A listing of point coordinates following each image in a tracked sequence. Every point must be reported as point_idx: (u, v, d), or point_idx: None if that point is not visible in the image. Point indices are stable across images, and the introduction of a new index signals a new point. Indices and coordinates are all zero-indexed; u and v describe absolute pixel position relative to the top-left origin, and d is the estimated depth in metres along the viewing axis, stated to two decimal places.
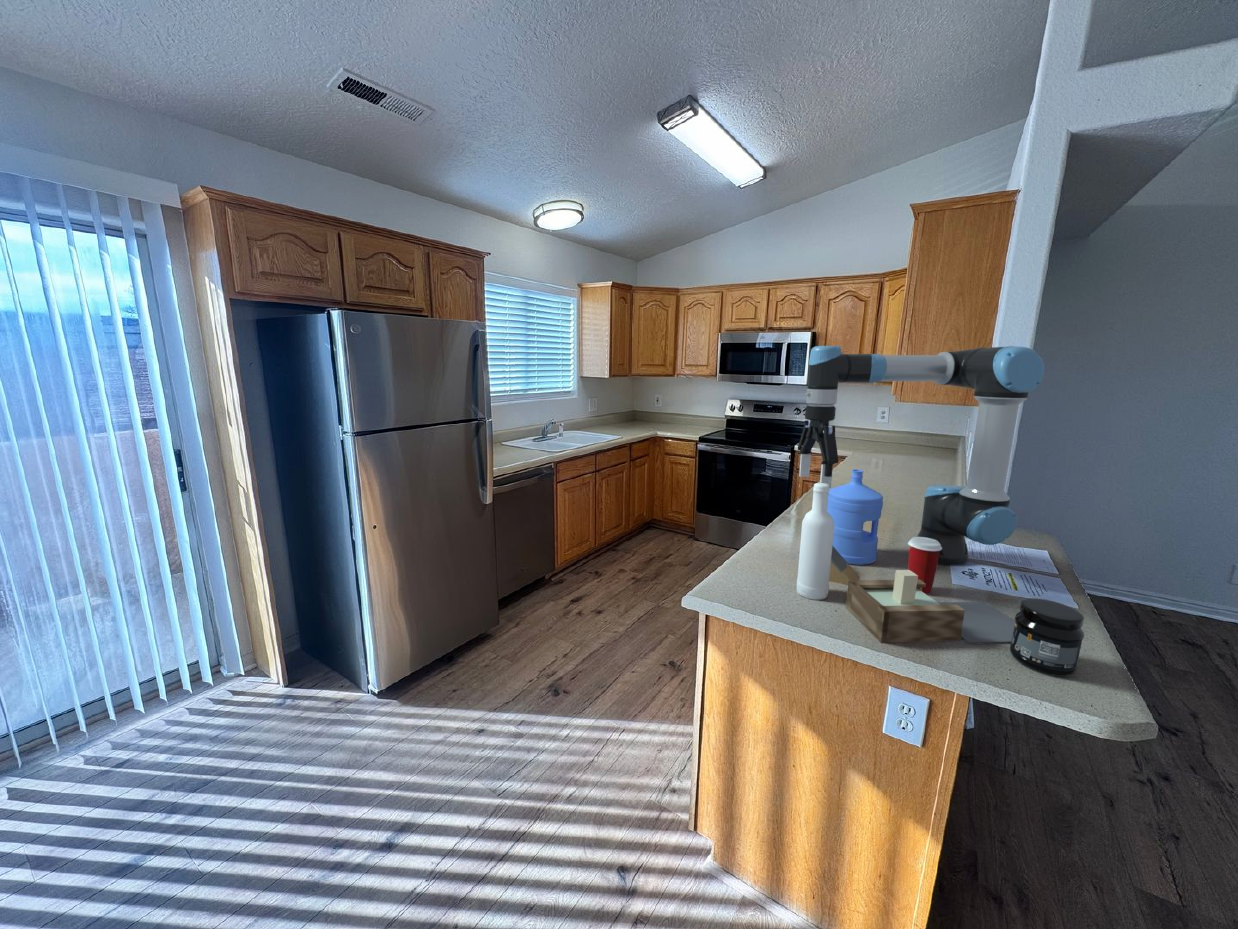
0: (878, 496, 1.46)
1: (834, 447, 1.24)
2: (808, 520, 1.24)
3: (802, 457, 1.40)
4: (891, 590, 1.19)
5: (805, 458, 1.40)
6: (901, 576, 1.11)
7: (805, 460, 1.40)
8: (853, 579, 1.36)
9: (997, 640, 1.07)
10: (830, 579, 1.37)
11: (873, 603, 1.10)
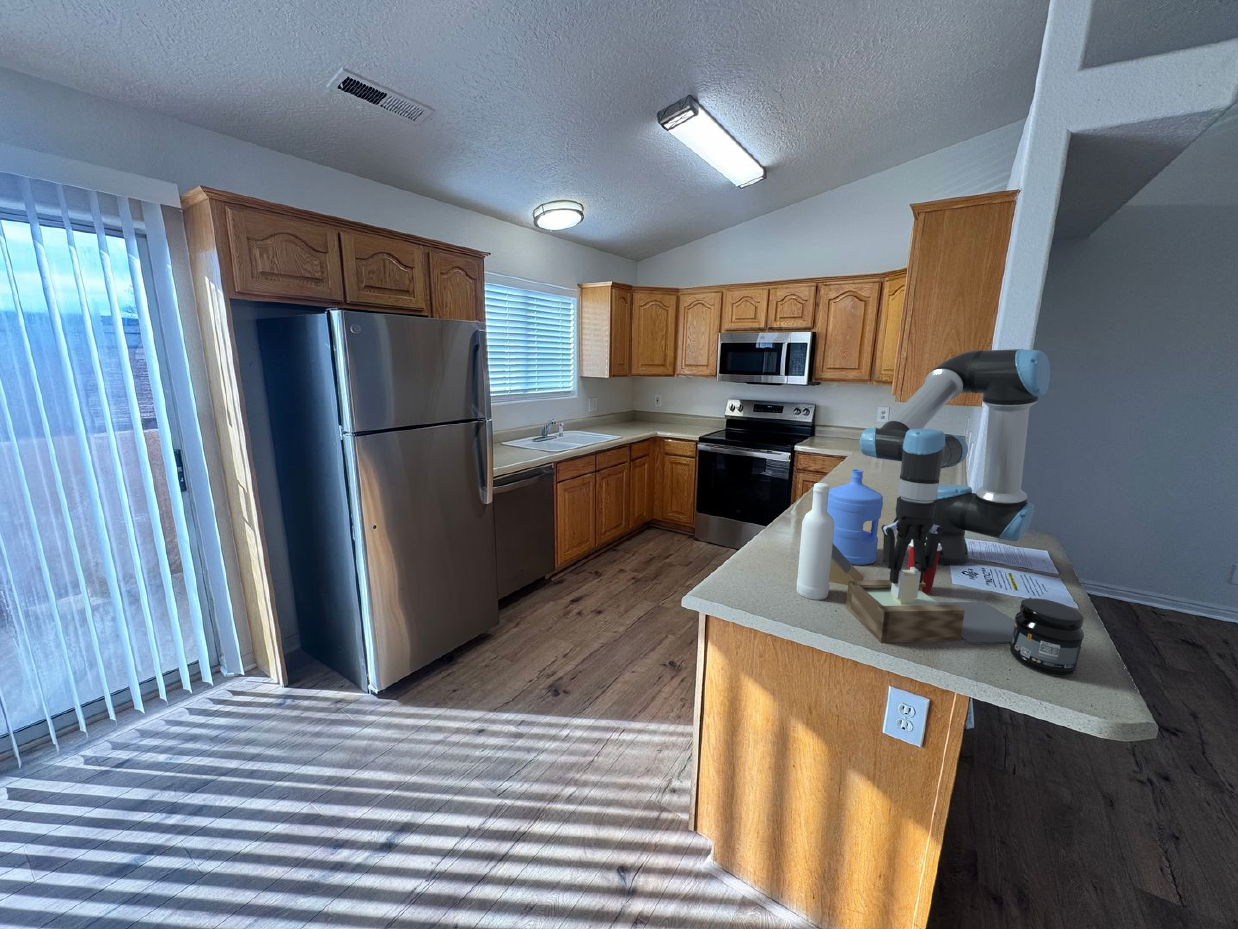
0: (878, 496, 1.46)
1: (887, 551, 1.10)
2: (808, 520, 1.24)
3: (910, 570, 1.13)
4: None
5: None
6: None
7: None
8: (858, 580, 1.35)
9: (997, 640, 1.07)
10: (835, 581, 1.36)
11: (873, 603, 1.10)
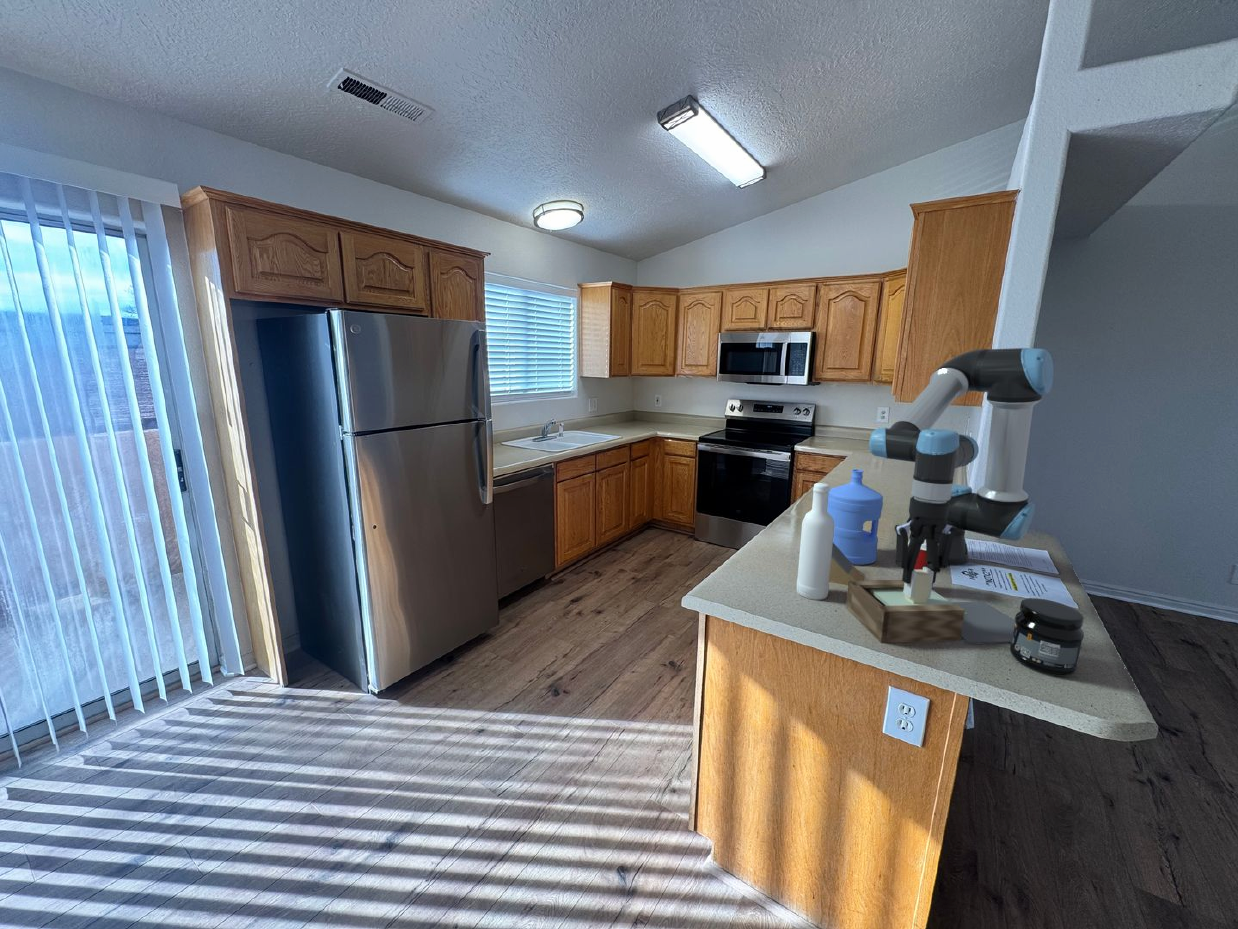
0: (878, 496, 1.46)
1: (901, 551, 1.10)
2: (808, 520, 1.24)
3: (923, 570, 1.13)
4: (903, 590, 1.19)
5: None
6: None
7: None
8: (859, 580, 1.35)
9: (997, 640, 1.07)
10: (836, 581, 1.36)
11: (873, 603, 1.10)
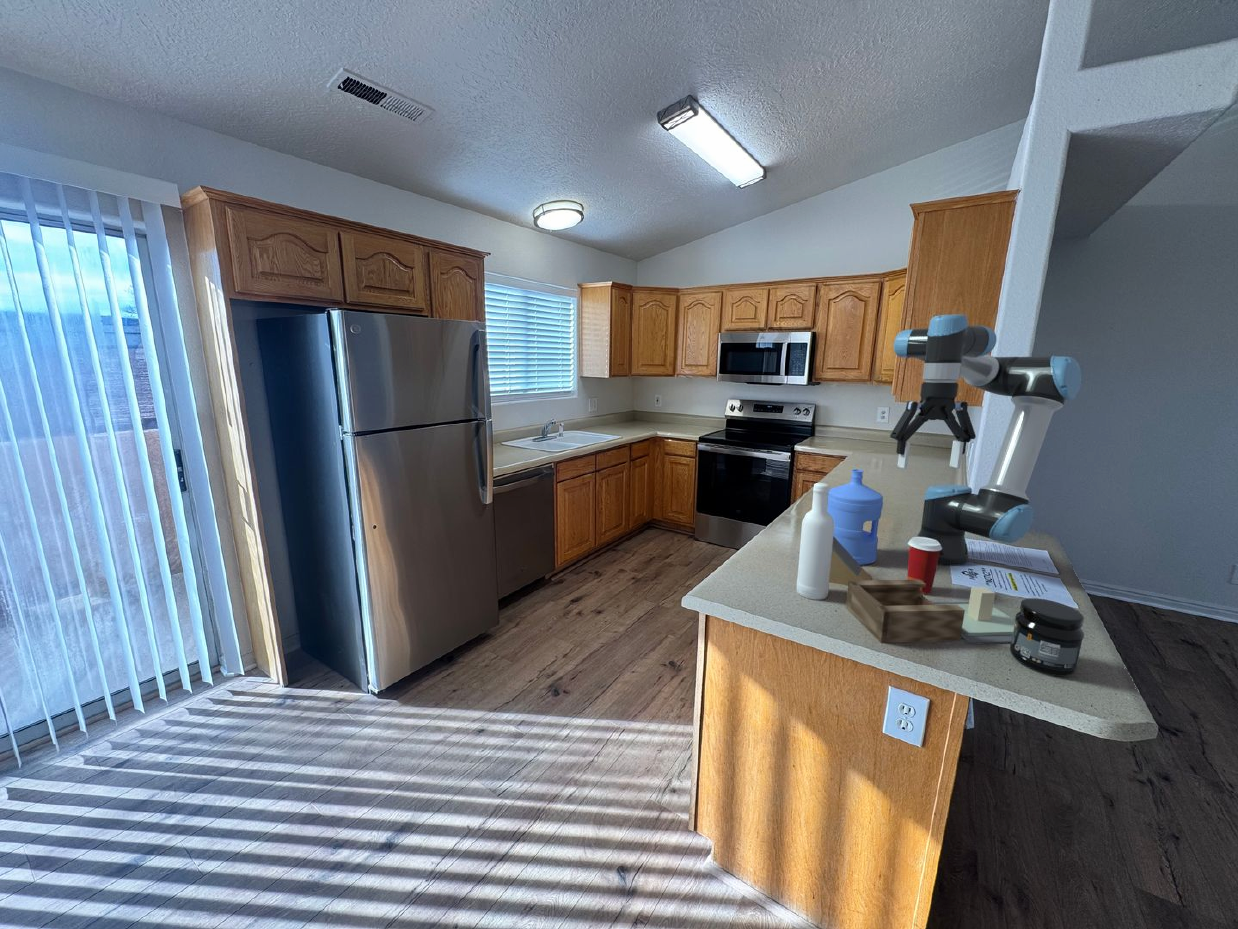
0: (878, 496, 1.46)
1: (902, 423, 1.19)
2: (808, 520, 1.24)
3: (953, 444, 1.22)
4: (963, 606, 1.20)
5: (955, 445, 1.21)
6: (978, 593, 1.13)
7: (955, 448, 1.21)
8: None
9: (997, 640, 1.07)
10: (846, 583, 1.34)
11: (873, 603, 1.10)
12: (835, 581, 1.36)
